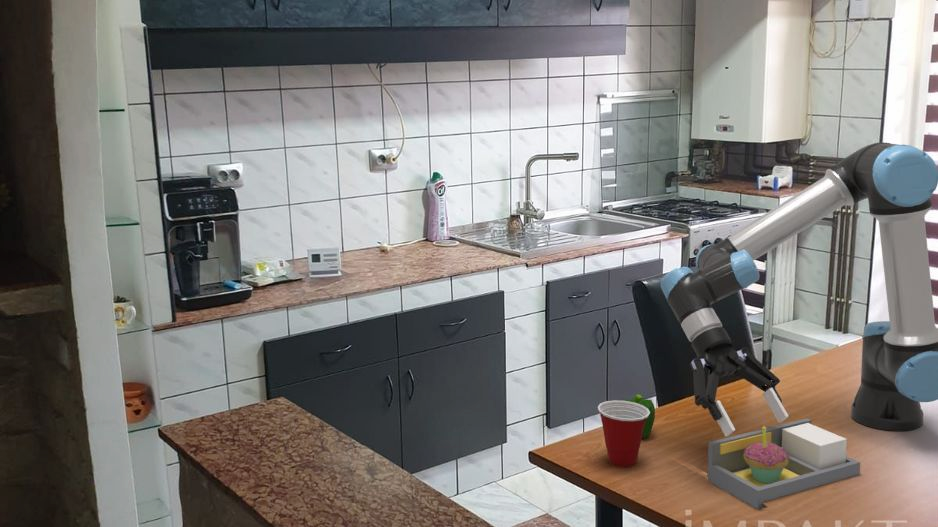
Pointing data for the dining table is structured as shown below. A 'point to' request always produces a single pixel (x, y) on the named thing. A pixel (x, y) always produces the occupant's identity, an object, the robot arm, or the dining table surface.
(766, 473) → the cupcake
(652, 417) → the bell pepper
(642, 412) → the plastic cup
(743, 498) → the tray
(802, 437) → the blank block
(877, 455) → the dining table surface
